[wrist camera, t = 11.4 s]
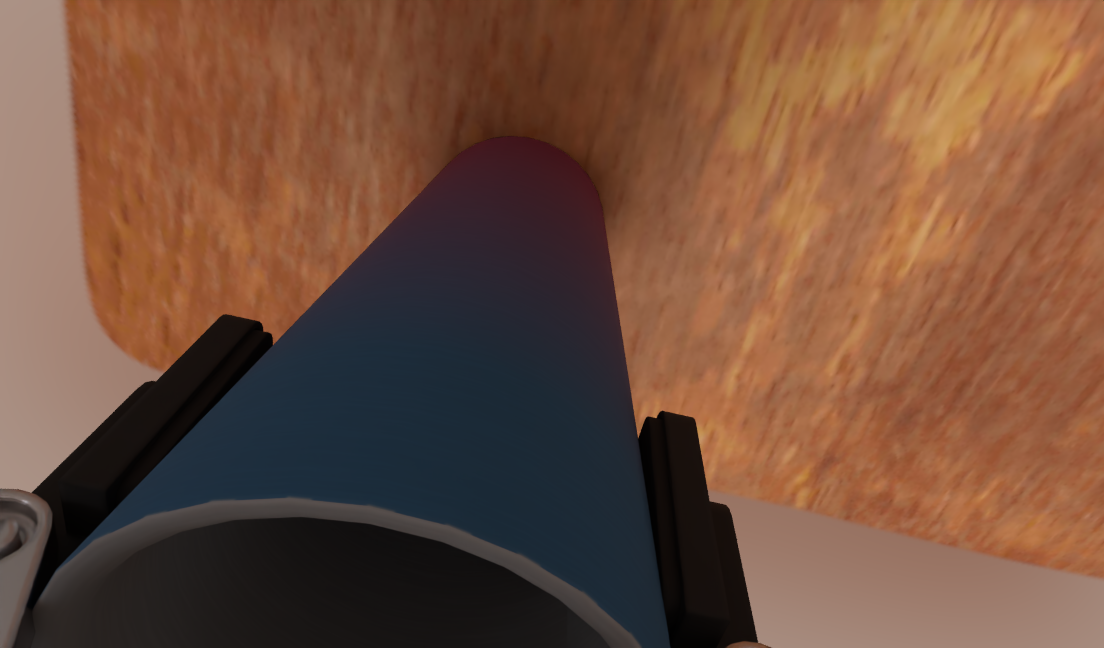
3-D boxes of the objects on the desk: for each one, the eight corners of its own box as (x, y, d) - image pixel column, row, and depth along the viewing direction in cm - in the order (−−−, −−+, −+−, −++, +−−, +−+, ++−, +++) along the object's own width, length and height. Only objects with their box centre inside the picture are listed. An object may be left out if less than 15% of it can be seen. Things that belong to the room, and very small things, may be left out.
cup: (352, 223, 21) (-76, 721, 8) (506, 44, 18) (246, 351, 5) (524, 364, 23) (411, 951, 10) (685, 222, 20) (827, 770, 7)
